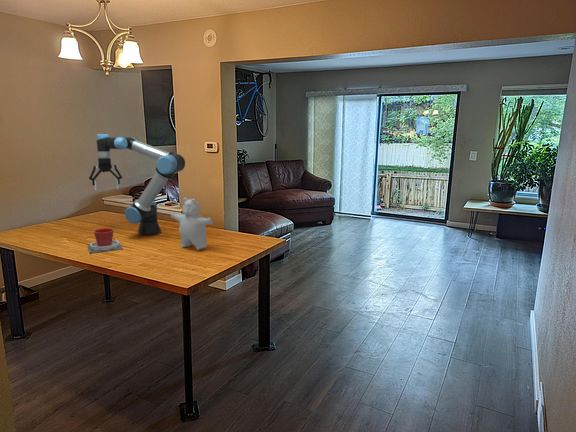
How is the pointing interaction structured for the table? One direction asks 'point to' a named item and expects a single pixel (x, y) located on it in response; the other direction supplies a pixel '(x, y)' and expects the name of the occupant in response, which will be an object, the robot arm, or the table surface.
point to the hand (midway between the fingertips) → (106, 189)
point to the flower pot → (104, 237)
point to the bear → (192, 225)
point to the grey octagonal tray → (104, 247)
